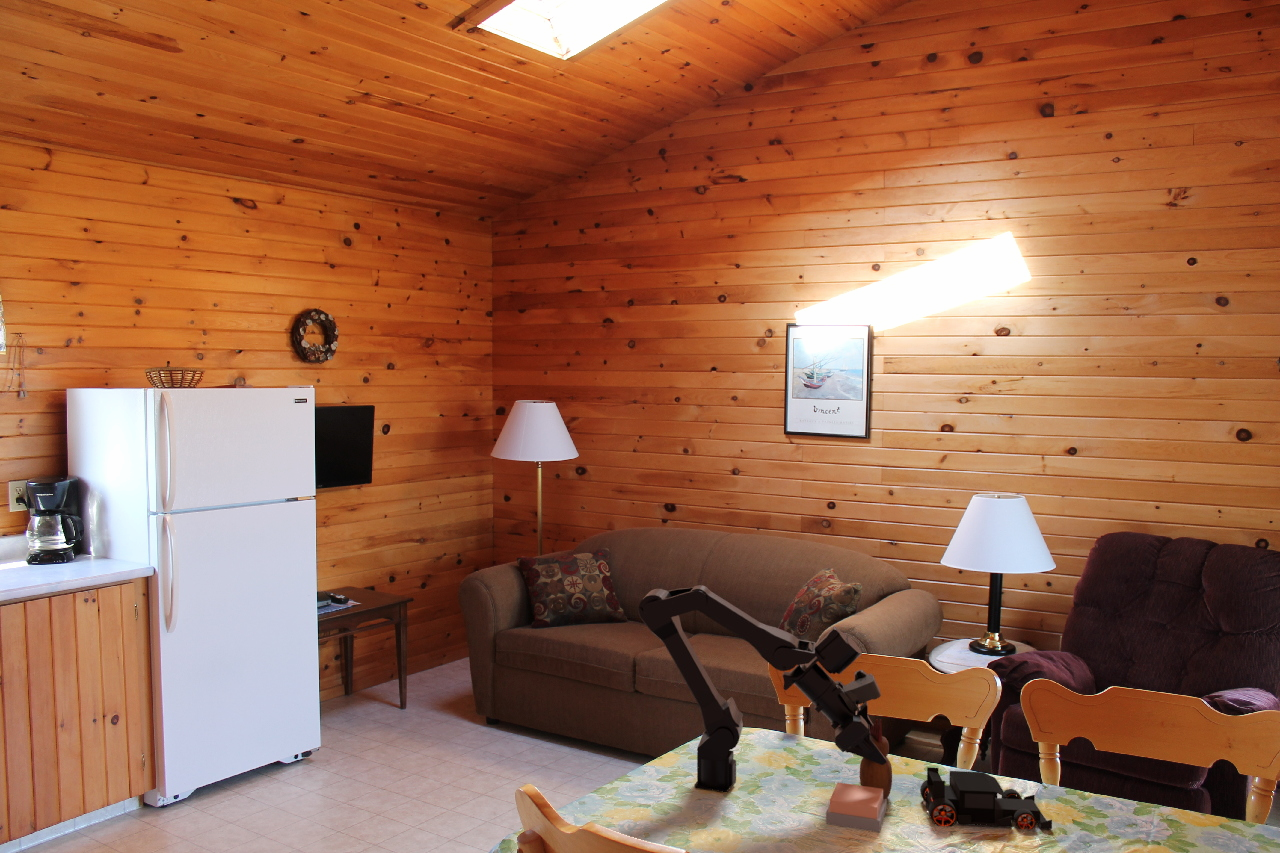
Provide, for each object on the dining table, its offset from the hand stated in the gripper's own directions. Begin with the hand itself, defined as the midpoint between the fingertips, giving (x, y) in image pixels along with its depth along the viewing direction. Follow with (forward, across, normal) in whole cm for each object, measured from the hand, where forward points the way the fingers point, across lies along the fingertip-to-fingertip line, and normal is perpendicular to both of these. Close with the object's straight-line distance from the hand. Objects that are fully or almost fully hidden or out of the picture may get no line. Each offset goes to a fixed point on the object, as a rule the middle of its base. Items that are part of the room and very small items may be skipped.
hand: (883, 753), depth 175 cm
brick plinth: (+2, -9, +9) cm, 13 cm away
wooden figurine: (+5, 0, +7) cm, 9 cm away
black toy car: (+18, -4, -6) cm, 19 cm away
